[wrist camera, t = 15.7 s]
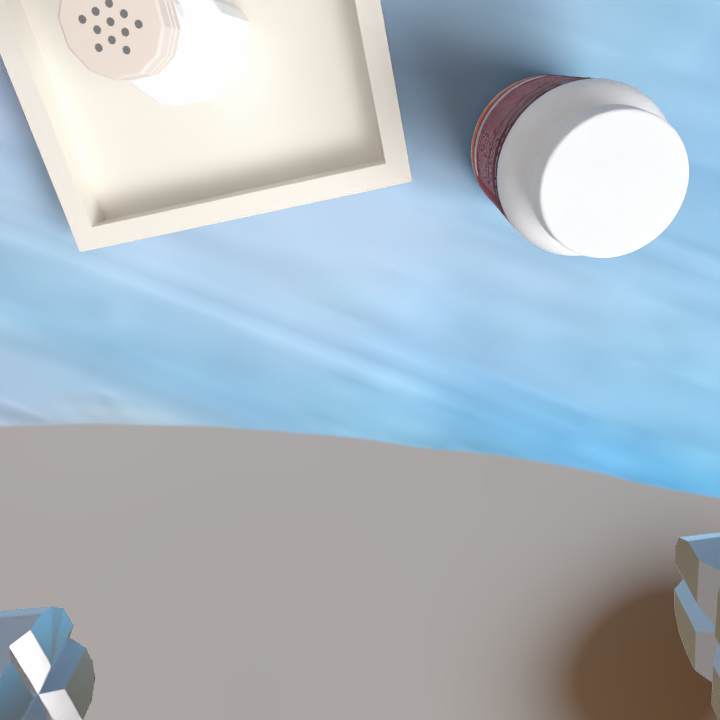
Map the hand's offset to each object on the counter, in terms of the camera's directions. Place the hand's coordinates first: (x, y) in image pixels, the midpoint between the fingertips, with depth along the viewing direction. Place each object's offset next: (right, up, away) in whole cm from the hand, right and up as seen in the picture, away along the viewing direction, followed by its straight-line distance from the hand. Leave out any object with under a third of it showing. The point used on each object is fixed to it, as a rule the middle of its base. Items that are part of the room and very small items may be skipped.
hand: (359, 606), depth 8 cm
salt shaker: (-7, +17, +19) cm, 27 cm away
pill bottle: (+8, +13, +22) cm, 27 cm away
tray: (-7, +18, +20) cm, 28 cm away
